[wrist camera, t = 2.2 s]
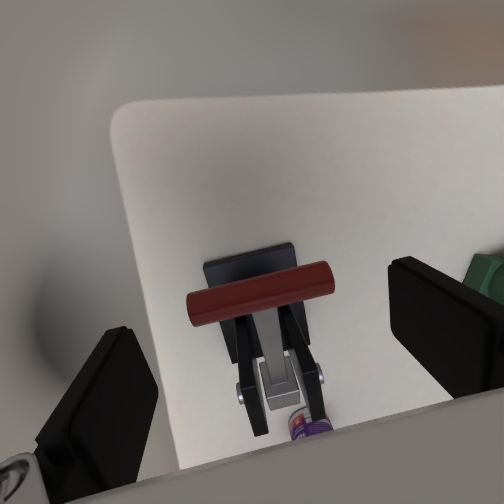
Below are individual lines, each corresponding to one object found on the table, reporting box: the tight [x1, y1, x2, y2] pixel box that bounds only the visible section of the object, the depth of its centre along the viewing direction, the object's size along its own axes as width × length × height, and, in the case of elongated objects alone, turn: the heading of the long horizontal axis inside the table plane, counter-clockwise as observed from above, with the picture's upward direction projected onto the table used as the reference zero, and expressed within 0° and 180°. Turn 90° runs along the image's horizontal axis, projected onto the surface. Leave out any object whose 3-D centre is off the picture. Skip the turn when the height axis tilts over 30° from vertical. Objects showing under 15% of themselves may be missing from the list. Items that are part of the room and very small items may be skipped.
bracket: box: [203, 243, 326, 437], centre depth 24 cm, size 12×9×13 cm
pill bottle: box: [289, 408, 333, 441], centre depth 32 cm, size 5×5×10 cm
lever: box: [186, 261, 335, 411], centre depth 16 cm, size 13×6×2 cm, turn 12°
